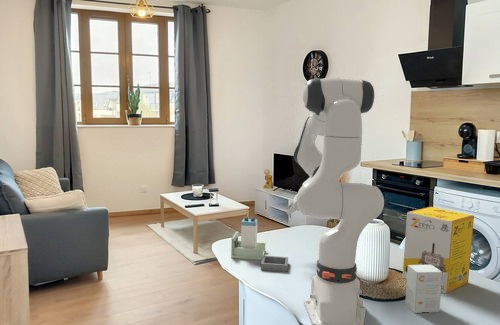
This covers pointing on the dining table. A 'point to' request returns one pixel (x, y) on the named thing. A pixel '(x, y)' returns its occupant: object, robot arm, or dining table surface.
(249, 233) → the plug block
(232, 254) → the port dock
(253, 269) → the dining table surface
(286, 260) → the frame
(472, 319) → the dining table surface
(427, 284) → the small box
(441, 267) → the packaging box
